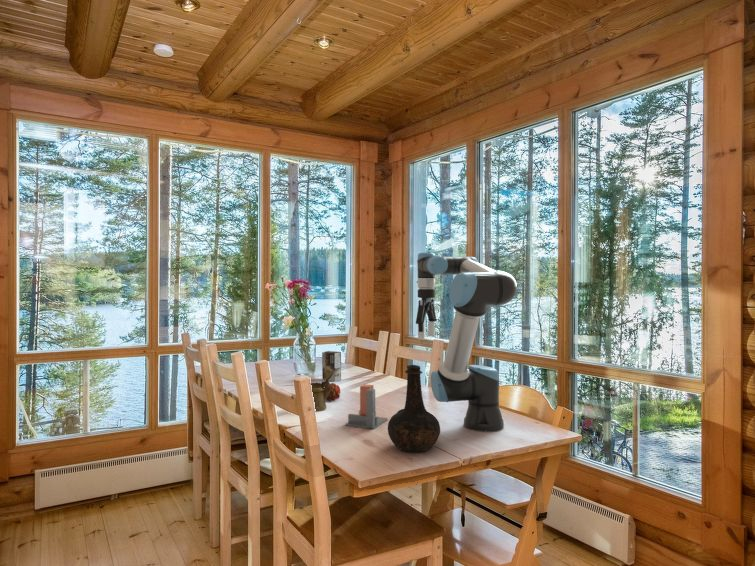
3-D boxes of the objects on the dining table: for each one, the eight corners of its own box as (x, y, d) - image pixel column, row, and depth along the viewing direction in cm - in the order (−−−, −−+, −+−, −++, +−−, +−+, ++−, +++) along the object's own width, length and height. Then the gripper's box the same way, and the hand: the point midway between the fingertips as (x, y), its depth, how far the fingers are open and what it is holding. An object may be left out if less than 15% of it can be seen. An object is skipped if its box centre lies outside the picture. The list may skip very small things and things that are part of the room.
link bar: (364, 419, 209) (364, 384, 209) (373, 420, 208) (373, 385, 208) (360, 421, 206) (360, 386, 206) (369, 422, 204) (369, 387, 204)
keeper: (360, 417, 215) (360, 381, 215) (387, 420, 211) (387, 383, 211) (344, 426, 202) (344, 388, 202) (372, 429, 197) (372, 390, 197)
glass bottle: (421, 437, 188) (421, 359, 188) (451, 451, 172) (451, 367, 172) (378, 444, 179) (377, 363, 179) (405, 460, 164) (404, 371, 163)
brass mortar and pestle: (336, 411, 225) (336, 369, 225) (305, 412, 224) (304, 370, 224) (336, 406, 234) (335, 366, 234) (305, 407, 233) (305, 366, 233)
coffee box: (341, 380, 294) (341, 351, 294) (334, 382, 289) (334, 353, 289) (328, 378, 299) (328, 350, 299) (321, 380, 294) (321, 352, 294)
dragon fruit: (331, 406, 240) (329, 404, 252) (345, 394, 242) (342, 392, 254) (320, 391, 241) (318, 390, 252) (334, 380, 242) (332, 379, 254)
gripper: (427, 288, 237) (427, 334, 237) (408, 289, 214) (408, 340, 214) (443, 288, 234) (443, 335, 234) (425, 289, 211) (425, 341, 211)
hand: (426, 337), depth 224 cm, fingers open, 13 cm apart
